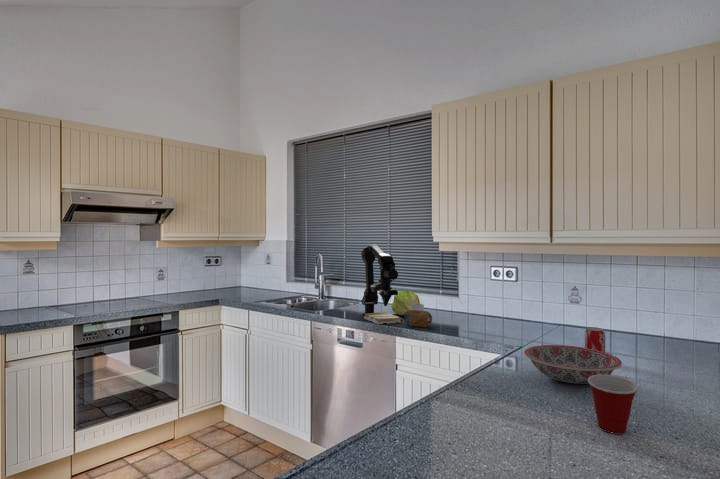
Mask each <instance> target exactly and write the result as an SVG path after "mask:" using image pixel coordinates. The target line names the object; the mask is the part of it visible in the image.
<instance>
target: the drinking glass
mask: <svg viewBox="0 0 720 479" xmlns="http://www.w3.org/2000/svg"><path fill="white" fill-rule="evenodd" d="M424 307H425V304H424V303H420V304H412V310H420V311H425V308H424Z"/></svg>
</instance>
